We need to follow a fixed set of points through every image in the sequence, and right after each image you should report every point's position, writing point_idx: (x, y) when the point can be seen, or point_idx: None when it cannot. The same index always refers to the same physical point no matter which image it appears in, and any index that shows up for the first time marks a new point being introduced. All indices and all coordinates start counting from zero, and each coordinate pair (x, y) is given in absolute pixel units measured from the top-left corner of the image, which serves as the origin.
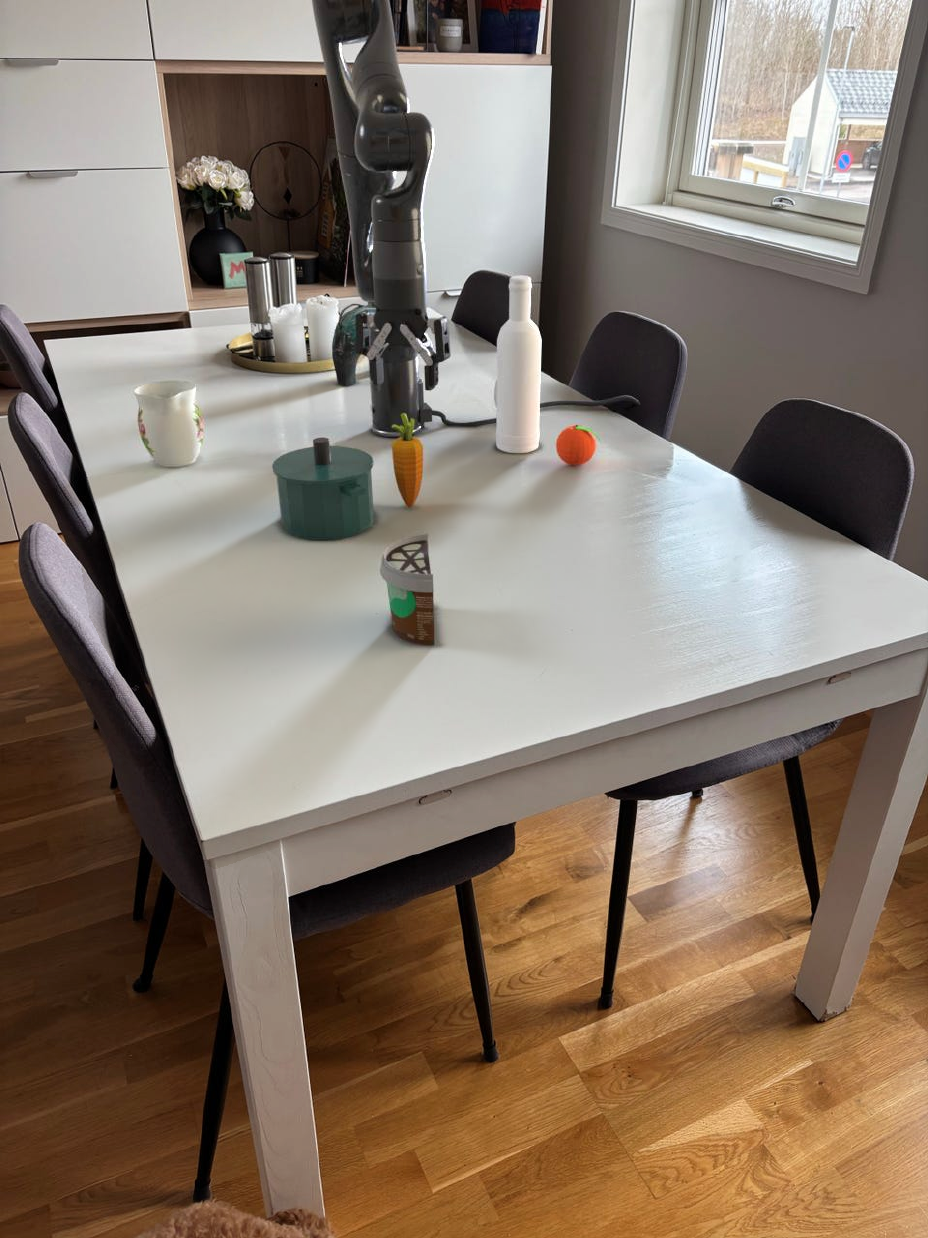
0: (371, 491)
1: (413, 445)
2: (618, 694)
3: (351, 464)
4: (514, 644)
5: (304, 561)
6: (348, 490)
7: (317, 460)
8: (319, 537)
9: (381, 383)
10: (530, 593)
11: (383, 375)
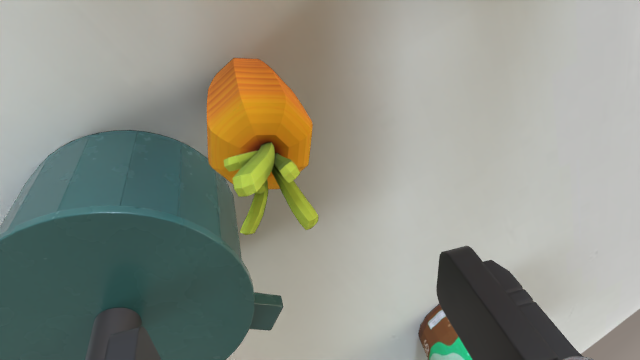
0: (223, 211)
1: (303, 167)
2: (630, 300)
3: (195, 292)
4: (543, 298)
5: None
6: (260, 329)
7: None
8: None
9: (151, 340)
10: (549, 219)
11: (134, 355)
